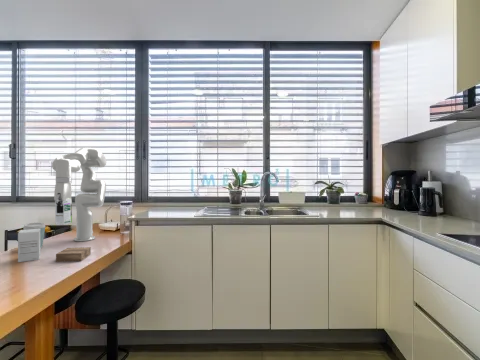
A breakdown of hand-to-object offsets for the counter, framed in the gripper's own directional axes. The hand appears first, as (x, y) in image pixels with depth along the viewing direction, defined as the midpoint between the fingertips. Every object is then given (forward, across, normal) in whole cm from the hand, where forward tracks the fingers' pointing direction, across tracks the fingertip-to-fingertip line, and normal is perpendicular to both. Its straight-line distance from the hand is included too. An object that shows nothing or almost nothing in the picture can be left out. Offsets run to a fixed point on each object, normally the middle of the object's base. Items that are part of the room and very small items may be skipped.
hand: (63, 211), depth 152 cm
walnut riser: (+23, +10, +10) cm, 28 cm away
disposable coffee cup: (+24, -11, -21) cm, 34 cm away
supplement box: (+24, +10, -12) cm, 28 cm away
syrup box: (+7, 0, 0) cm, 7 cm away
